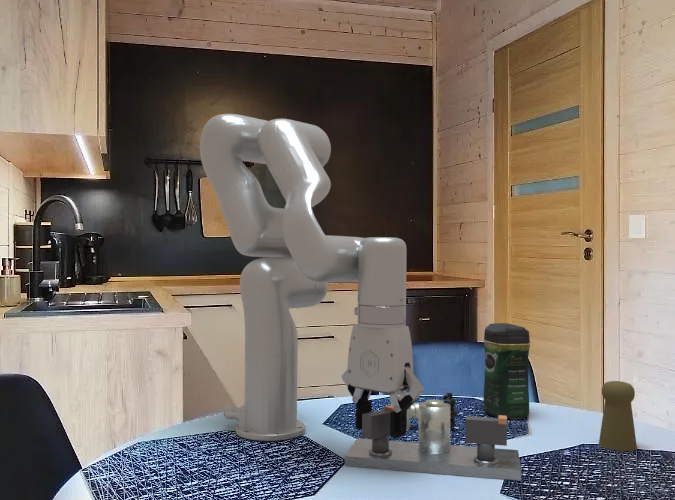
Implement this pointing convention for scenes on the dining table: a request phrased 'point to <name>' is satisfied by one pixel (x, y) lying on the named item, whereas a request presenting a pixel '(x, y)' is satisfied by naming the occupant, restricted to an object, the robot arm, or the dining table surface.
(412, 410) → the valve
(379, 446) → the knob
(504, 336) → the coffee jar
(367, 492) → the dining table surface
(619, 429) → the cork
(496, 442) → the knob
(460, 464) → the plate
